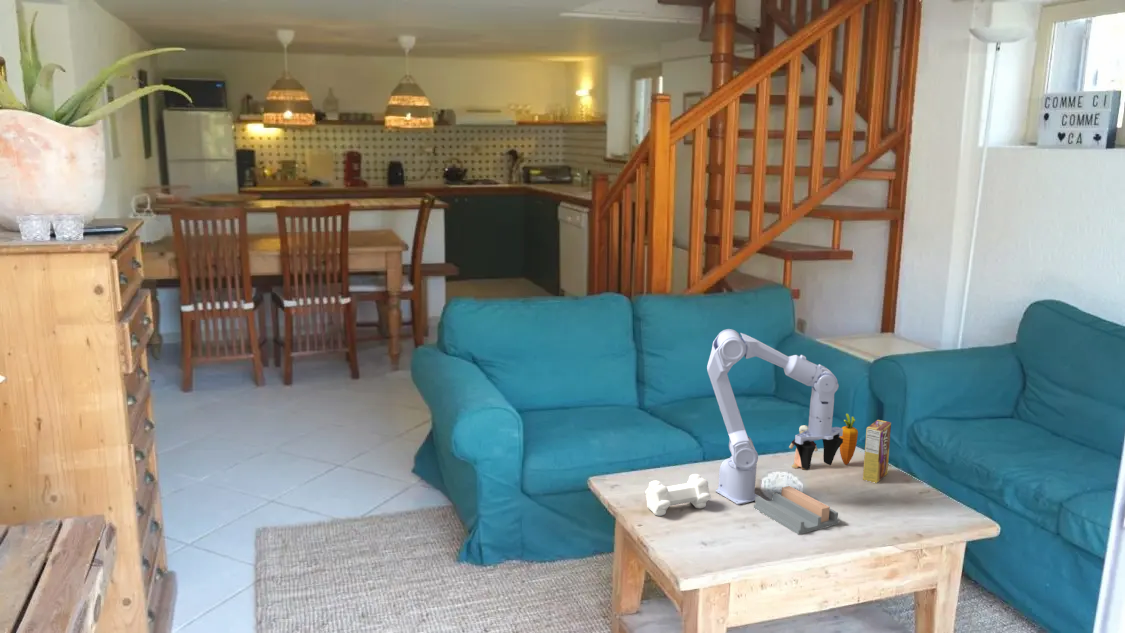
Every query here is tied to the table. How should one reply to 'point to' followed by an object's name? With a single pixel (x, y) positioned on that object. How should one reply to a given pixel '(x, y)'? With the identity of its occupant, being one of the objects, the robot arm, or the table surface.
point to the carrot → (848, 440)
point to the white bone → (677, 494)
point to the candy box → (876, 451)
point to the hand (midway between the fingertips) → (816, 465)
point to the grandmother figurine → (797, 457)
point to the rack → (793, 514)
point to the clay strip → (806, 502)
